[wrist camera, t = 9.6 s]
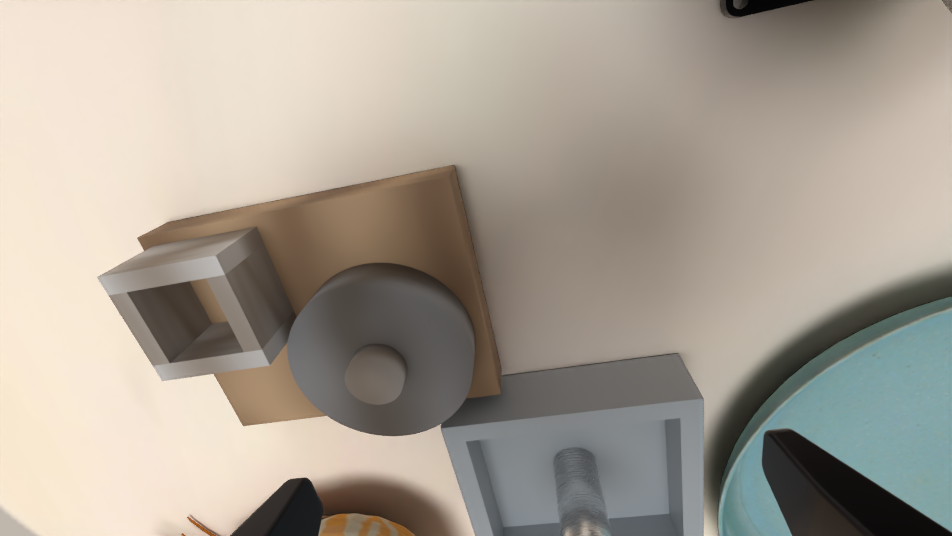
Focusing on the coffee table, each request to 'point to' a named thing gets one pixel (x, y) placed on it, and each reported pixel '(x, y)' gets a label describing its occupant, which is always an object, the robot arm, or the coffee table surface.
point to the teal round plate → (859, 420)
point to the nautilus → (352, 526)
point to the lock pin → (579, 494)
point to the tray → (590, 427)
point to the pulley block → (321, 305)
